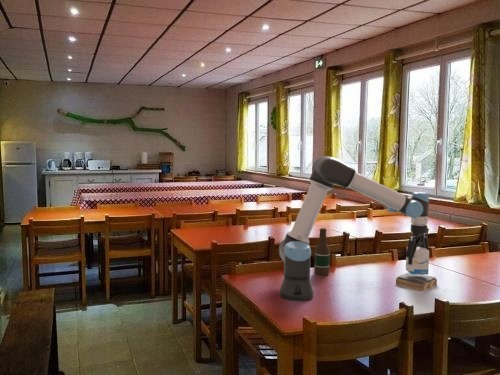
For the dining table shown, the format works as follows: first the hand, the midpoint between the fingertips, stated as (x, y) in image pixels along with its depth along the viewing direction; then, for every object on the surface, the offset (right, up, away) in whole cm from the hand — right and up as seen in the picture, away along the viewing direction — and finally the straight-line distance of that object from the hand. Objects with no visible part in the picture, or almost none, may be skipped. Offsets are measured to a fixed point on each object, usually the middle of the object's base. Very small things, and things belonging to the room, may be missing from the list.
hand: (416, 268), depth 226 cm
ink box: (0, -2, 0) cm, 2 cm away
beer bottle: (-43, -6, +18) cm, 47 cm away
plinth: (0, -8, +1) cm, 8 cm away
